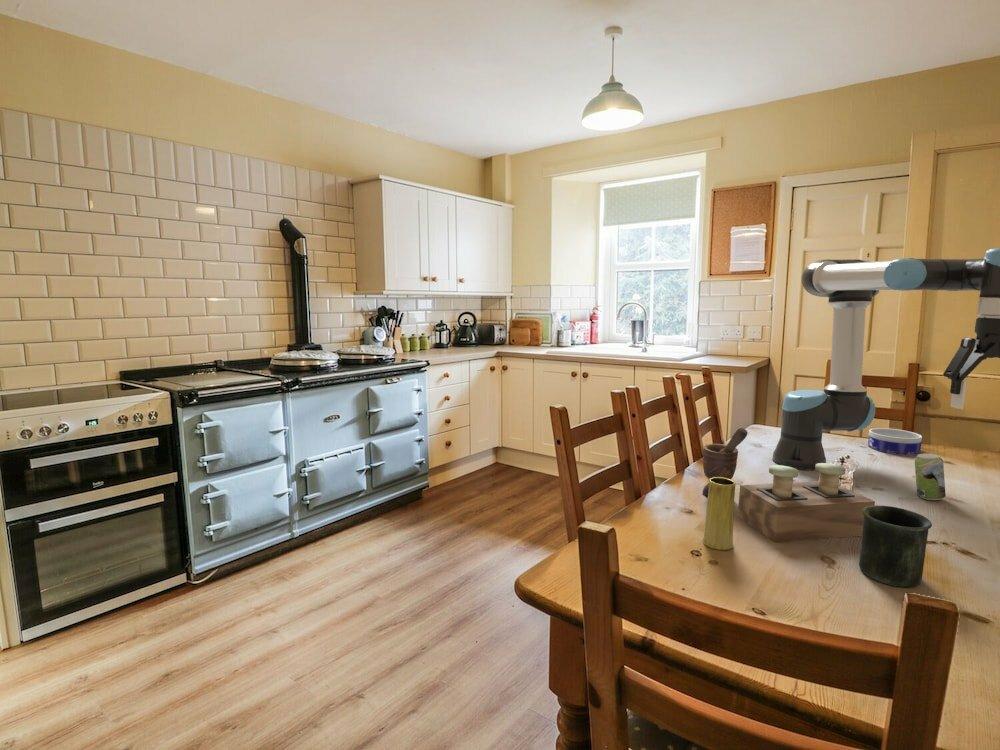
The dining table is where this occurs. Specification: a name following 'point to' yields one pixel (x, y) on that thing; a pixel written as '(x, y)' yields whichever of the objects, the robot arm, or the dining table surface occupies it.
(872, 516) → the mug
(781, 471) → the peg
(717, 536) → the vase
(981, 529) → the dining table surface
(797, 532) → the socket block
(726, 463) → the mortar and pestle
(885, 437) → the dog bowl
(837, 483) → the peg
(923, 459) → the beverage can
